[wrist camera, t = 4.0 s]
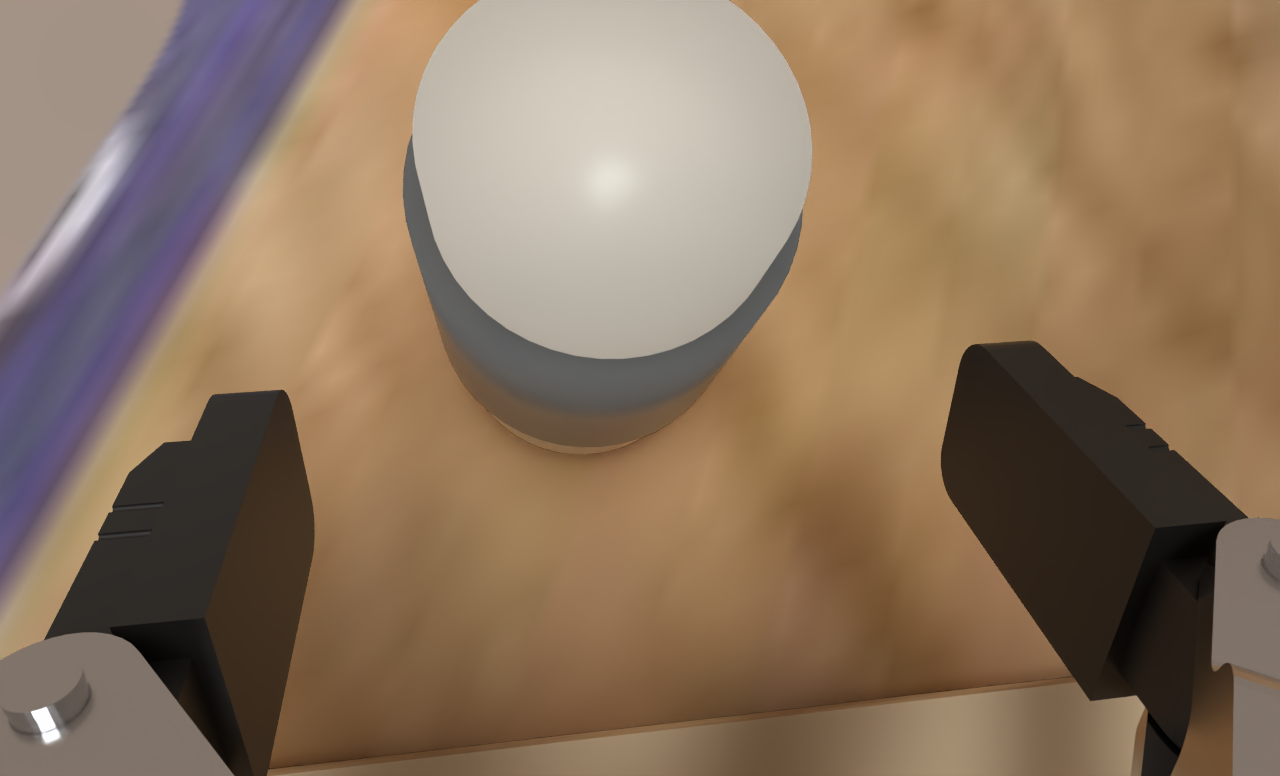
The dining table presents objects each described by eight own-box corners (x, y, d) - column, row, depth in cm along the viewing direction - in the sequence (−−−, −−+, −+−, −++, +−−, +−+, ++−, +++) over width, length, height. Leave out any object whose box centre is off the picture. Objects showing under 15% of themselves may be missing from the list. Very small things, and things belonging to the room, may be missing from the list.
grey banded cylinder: (693, 213, 22) (803, -61, 13) (722, 457, 20) (866, 334, 12) (441, 225, 21) (378, -59, 12) (455, 479, 20) (395, 364, 11)
